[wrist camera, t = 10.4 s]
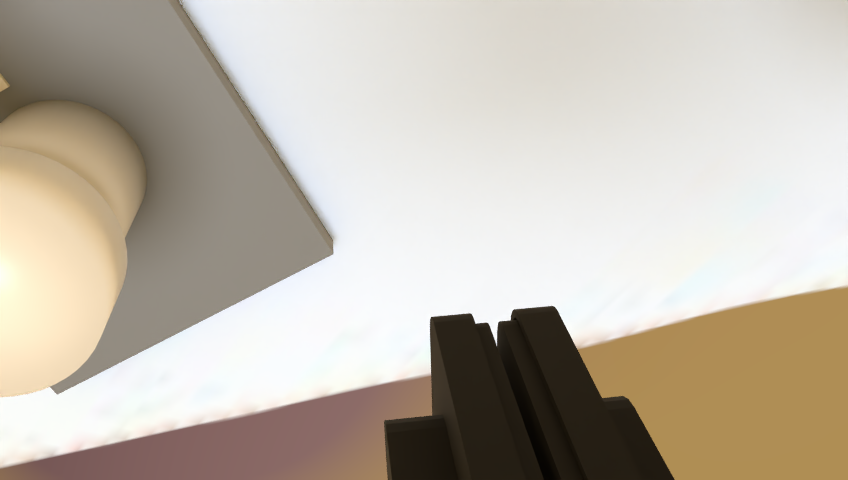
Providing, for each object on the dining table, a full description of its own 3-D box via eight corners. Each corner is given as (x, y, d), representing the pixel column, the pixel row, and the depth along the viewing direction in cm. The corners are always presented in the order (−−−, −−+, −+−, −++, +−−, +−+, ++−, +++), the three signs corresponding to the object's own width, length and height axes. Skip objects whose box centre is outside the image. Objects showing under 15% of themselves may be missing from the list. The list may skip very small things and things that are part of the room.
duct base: (93, -130, 33) (22, -118, 25) (332, 240, 42) (336, 335, 34) (-233, 63, 35) (-396, 131, 27) (65, 377, 44) (9, 498, 36)
